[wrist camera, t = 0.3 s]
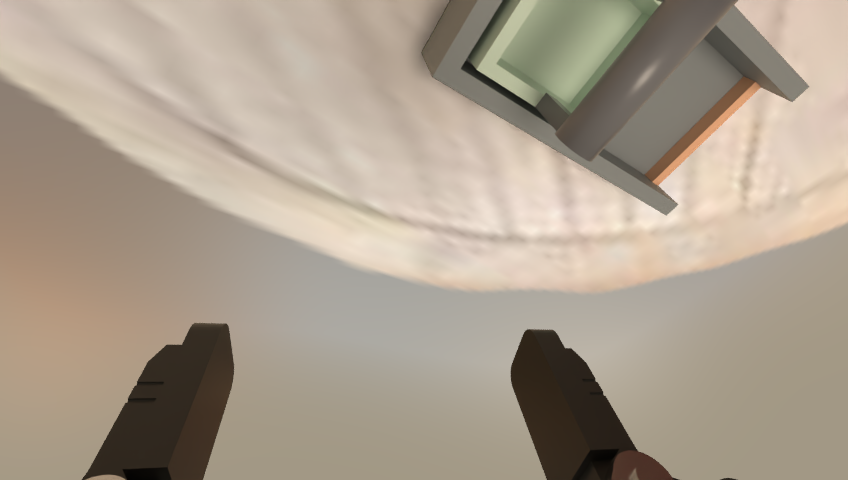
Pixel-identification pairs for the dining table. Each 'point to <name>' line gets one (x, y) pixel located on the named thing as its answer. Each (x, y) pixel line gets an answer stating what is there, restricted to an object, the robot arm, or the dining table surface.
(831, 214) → the dining table surface
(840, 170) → the dining table surface
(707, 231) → the dining table surface
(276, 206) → the dining table surface
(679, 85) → the bay
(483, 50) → the box
